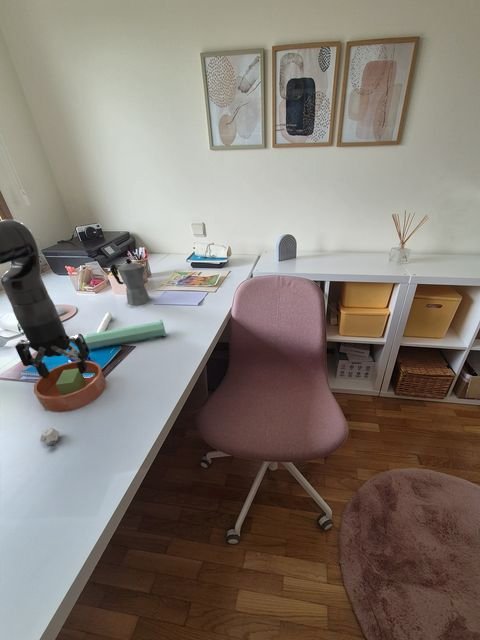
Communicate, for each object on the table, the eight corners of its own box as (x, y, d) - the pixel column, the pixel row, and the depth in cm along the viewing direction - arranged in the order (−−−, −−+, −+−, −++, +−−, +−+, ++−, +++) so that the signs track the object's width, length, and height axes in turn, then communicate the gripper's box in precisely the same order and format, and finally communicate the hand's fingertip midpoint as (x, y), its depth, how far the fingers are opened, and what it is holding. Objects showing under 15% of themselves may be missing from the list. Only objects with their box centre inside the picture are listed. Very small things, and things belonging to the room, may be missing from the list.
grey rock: (65, 434, 68) (59, 425, 66) (56, 447, 64) (50, 438, 63) (49, 434, 68) (43, 425, 66) (39, 448, 64) (33, 439, 63)
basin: (31, 416, 72) (22, 403, 70) (53, 377, 85) (46, 365, 82) (99, 406, 75) (93, 392, 72) (111, 369, 87) (106, 357, 85)
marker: (108, 316, 116) (106, 310, 115) (113, 315, 117) (112, 310, 115) (95, 339, 102) (93, 333, 100) (102, 339, 102) (100, 333, 101)
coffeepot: (158, 297, 131) (148, 255, 121) (148, 306, 123) (137, 263, 113) (125, 295, 133) (113, 254, 123) (113, 305, 125) (100, 262, 115)
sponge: (62, 398, 77) (55, 384, 74) (69, 383, 82) (63, 370, 79) (79, 395, 77) (72, 382, 75) (85, 381, 82) (79, 368, 80)
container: (78, 335, 92) (161, 320, 99) (83, 333, 98) (162, 319, 104) (83, 353, 94) (165, 337, 100) (88, 350, 99) (166, 335, 106)
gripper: (77, 307, 72) (98, 362, 81) (10, 313, 69) (40, 369, 78) (68, 321, 66) (91, 379, 75) (-6, 328, 63) (27, 387, 72)
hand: (65, 374), depth 76 cm, fingers open, 8 cm apart
